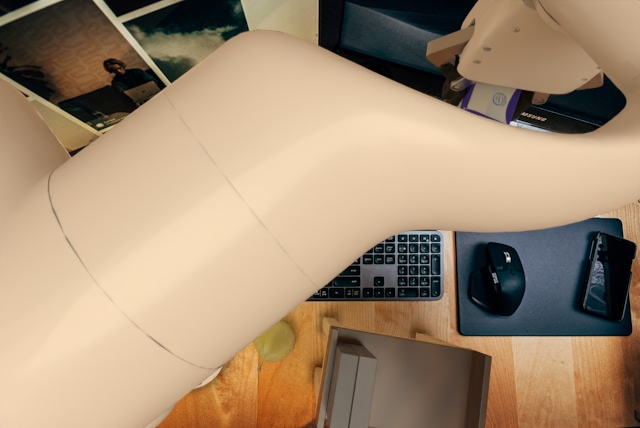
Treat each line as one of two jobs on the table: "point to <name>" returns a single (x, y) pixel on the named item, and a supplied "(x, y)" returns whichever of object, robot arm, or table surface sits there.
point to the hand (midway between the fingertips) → (479, 101)
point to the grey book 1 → (342, 386)
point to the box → (491, 101)
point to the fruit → (275, 343)
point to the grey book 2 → (363, 388)
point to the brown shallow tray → (416, 382)
